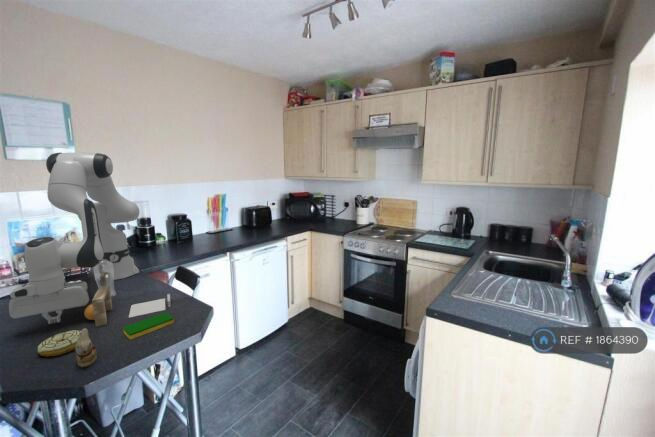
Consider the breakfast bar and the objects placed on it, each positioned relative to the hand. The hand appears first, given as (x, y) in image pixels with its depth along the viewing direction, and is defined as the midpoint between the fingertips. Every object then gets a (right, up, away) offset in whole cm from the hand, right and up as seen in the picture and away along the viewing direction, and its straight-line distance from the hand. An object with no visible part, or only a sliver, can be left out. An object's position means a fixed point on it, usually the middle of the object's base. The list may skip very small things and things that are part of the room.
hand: (54, 322), depth 104 cm
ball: (+10, +2, +5) cm, 12 cm away
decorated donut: (+14, -4, -12) cm, 19 cm away
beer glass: (-1, +2, +26) cm, 26 cm away
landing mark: (+24, +1, +14) cm, 28 cm away
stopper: (+31, +2, +17) cm, 36 cm away
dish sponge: (+34, -2, -1) cm, 34 cm away
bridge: (+12, 0, +7) cm, 14 cm away
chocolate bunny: (+27, -4, -19) cm, 33 cm away
